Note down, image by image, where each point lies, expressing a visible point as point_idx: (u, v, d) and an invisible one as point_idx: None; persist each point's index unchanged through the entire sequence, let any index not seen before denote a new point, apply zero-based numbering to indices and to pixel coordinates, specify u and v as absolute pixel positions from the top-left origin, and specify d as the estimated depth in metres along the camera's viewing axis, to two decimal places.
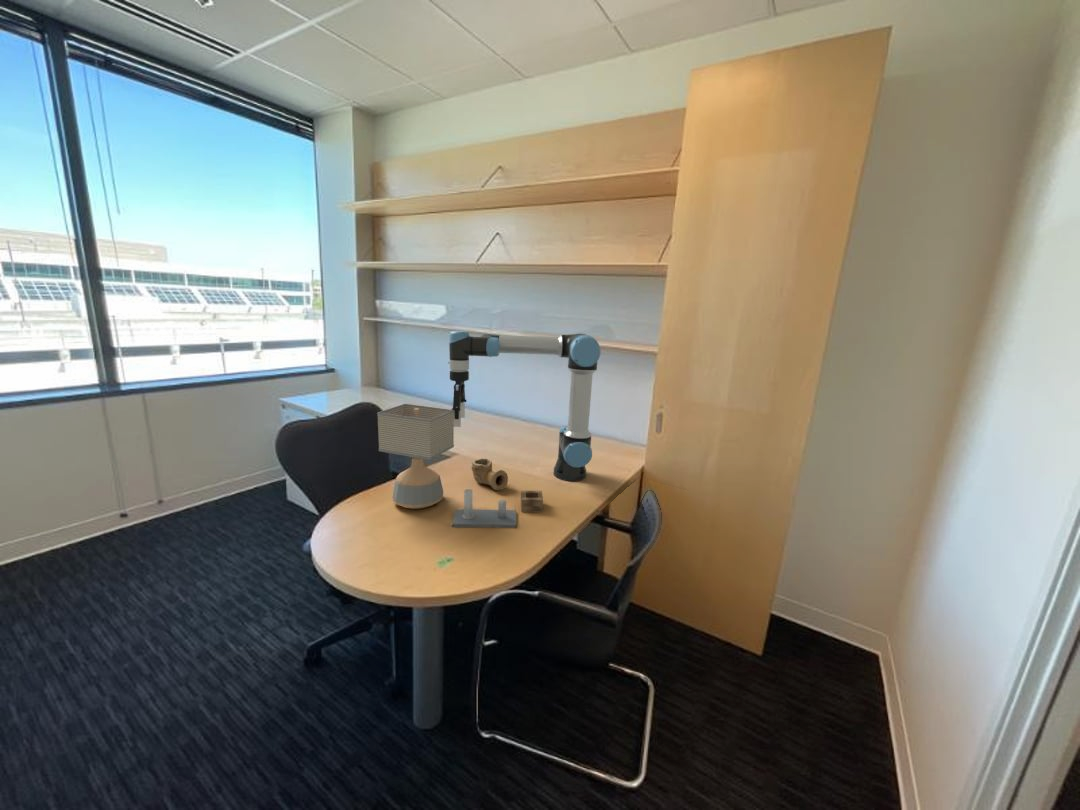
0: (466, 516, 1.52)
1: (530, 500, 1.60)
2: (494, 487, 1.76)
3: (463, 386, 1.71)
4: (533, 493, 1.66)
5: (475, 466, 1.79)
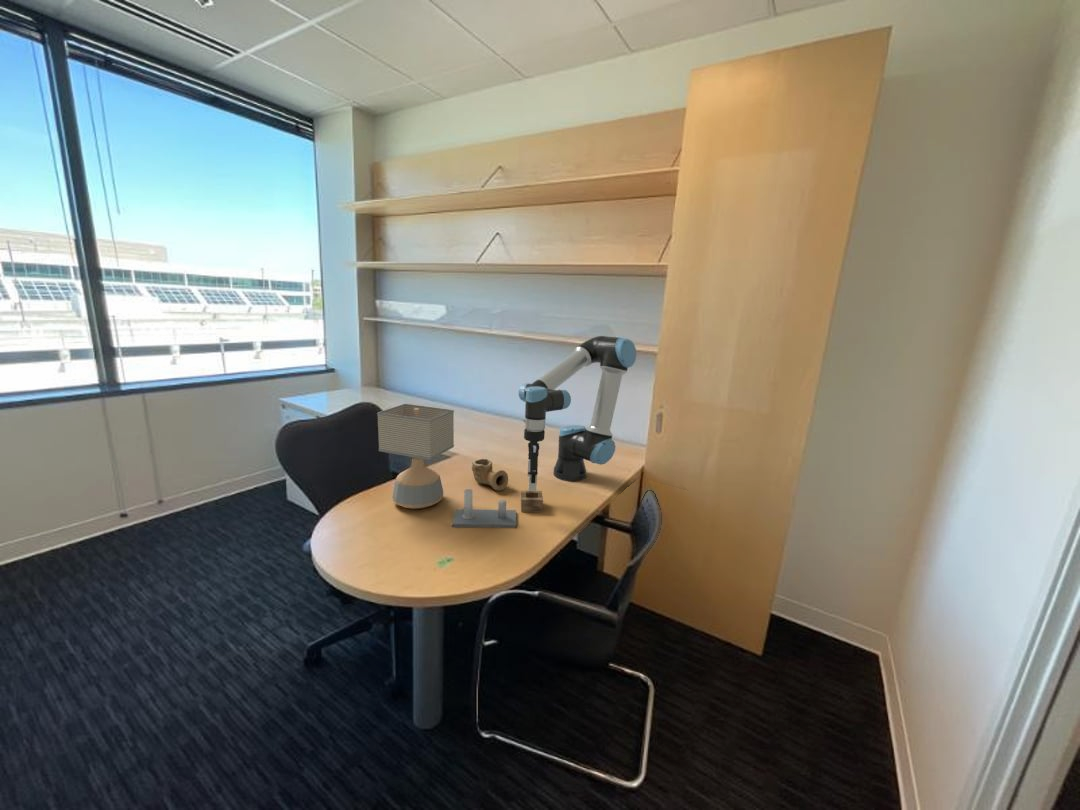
0: (466, 516, 1.52)
1: (530, 500, 1.60)
2: (494, 487, 1.76)
3: None
4: (533, 493, 1.66)
5: (475, 466, 1.79)
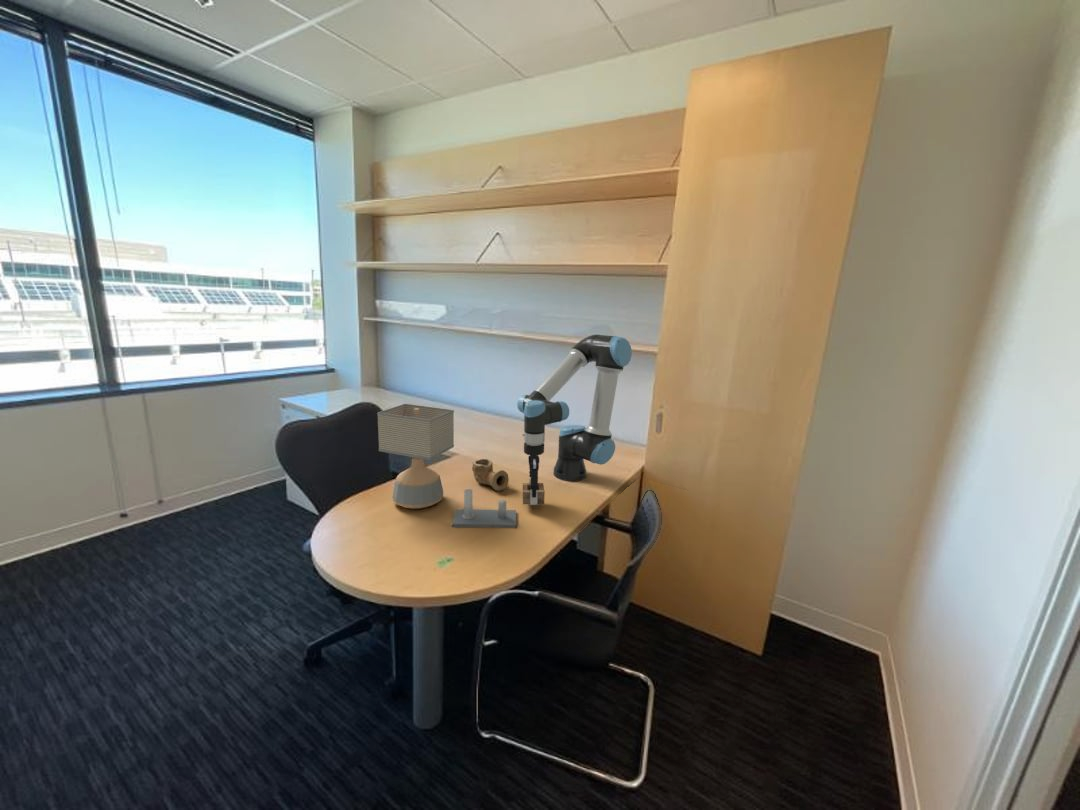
0: (466, 516, 1.52)
1: None
2: (495, 487, 1.75)
3: None
4: None
5: (476, 466, 1.79)
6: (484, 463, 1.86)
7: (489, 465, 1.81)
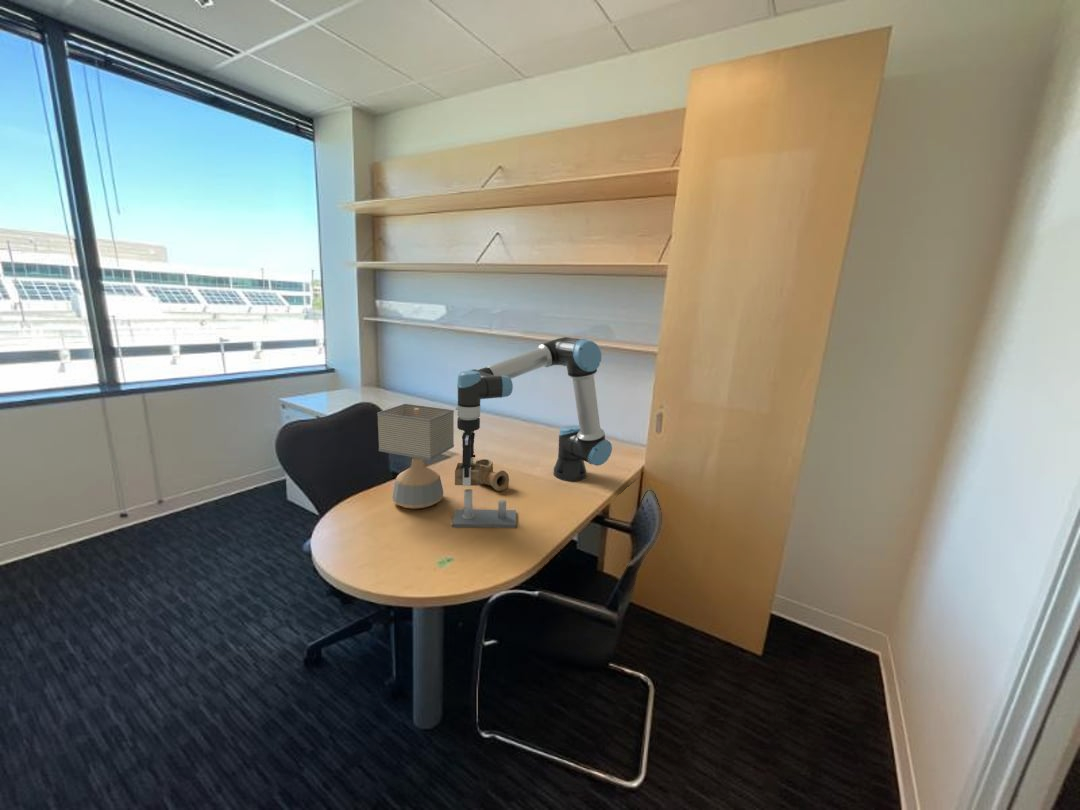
0: (466, 516, 1.52)
1: None
2: (495, 487, 1.75)
3: (473, 436, 1.45)
4: (470, 465, 1.52)
5: None
6: (484, 463, 1.85)
7: (489, 465, 1.81)
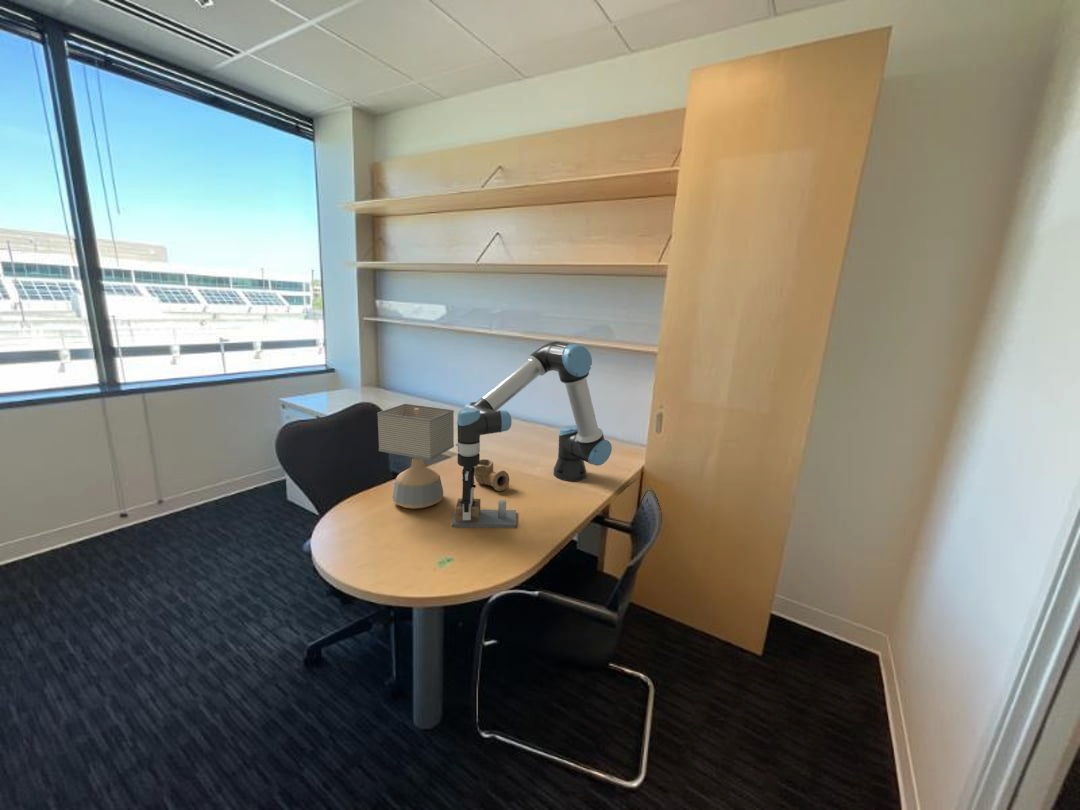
0: None
1: None
2: (496, 488, 1.75)
3: (473, 472, 1.48)
4: None
5: (476, 467, 1.79)
6: (485, 463, 1.85)
7: (490, 465, 1.80)
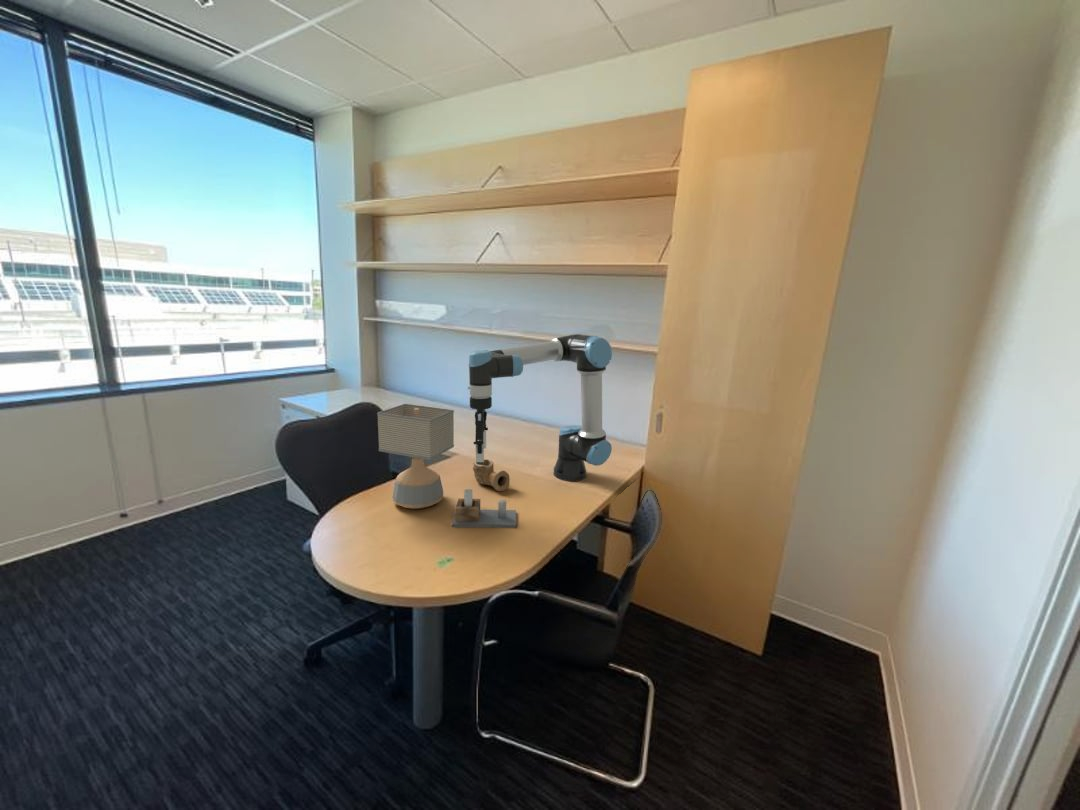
0: None
1: (465, 509, 1.49)
2: (496, 488, 1.75)
3: (486, 414, 1.47)
4: None
5: (477, 467, 1.79)
6: (485, 463, 1.85)
7: (490, 465, 1.80)
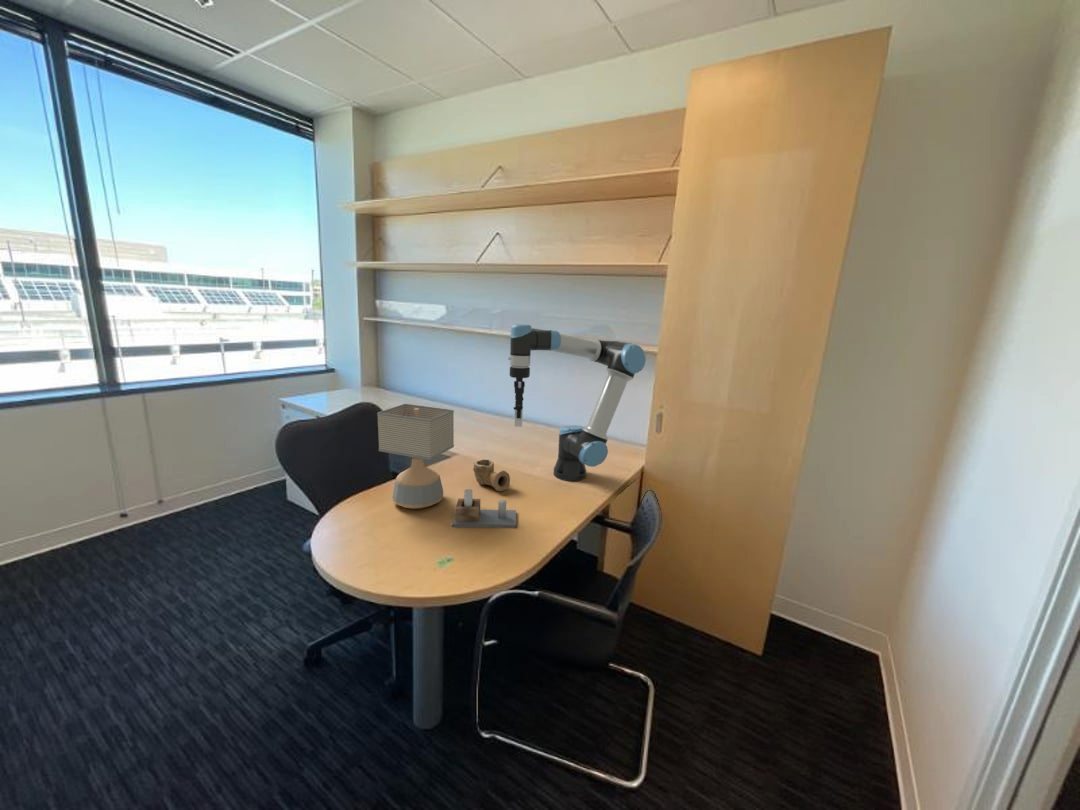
0: None
1: (465, 509, 1.49)
2: (496, 488, 1.75)
3: (524, 383, 1.60)
4: None
5: (477, 467, 1.79)
6: (485, 464, 1.85)
7: (490, 466, 1.80)
